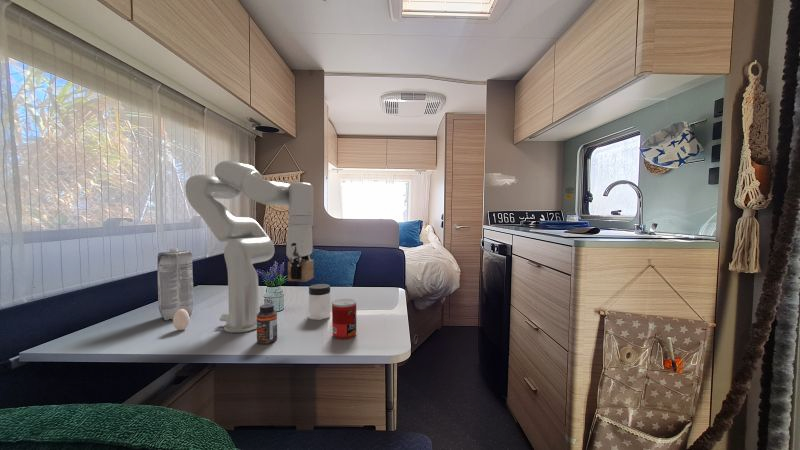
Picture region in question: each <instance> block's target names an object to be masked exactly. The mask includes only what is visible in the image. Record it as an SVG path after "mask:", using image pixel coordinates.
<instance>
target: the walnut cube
mask: <svg viewBox="0 0 800 450" xmlns="http://www.w3.org/2000/svg"><path fill="white" fill-rule="evenodd" d="M296 260H297V262H298V259H296ZM314 263H315V260H314V259H311V260H303V259H301V264H300V266H302V278H301V279H291V266H290V261H287V281H288V282H304V283H305V282H308V281H310V280H312V279H314V277H315V276H314V274H315V271H314V269H315V266H314V265H315V264H314Z"/></svg>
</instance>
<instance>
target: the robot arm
mask: <svg viewBox="0 0 800 450" xmlns="http://www.w3.org/2000/svg"><path fill="white" fill-rule="evenodd" d="M213 172H214V175H212V174H211V175H210V174H196V175H192V176H190V177H189V178H188V179H187V180H186V182H185V186H184V187H185V189H184V190H185V196H186V200H187V201H188V203H189V205H190V206H191V208H192V209H193V210H194V211H195V212H196V213H197V214H198V215H199V216H200V217H201V218H202V220H203V221H204V223H205V224H206V225H207V227H208V228H209V229H210V231H211V233H212V234H213V235H214V237H215V238H216V239H217V240H218V241H219V242H221V243H227V244H226V245H225V246H224V248H223V256H224V261H225V264H226V271H227V286H228V290H227V293H228V296H227V297H228V313H222V314H221V316H220V318H219V321H220V322H225V325H223V326H224V327H223V330H224V332H226V333H233V334H234V333H235V334H237V333H238V334H239V333H246V332H251V331H255V330H257V314H258V313H259V312H260V303H259V300H260V298H259V296H260V295H259V274H258V272H257V270H256V268H255V267H254V264H257V263H258V264H259V263H264V262H267V261H269V260H271V259H272V258H273V257H274V254H275V245H274V242H273V241H272V239H271V238H270V237H269V235H268V234H267V233H266V231H265V230H264V228H263V227H262V226H261V225H260V224H259V222H257V220H255V219H254V218H251V217H248V216H234V215H233V214H232V213H231V212H230V211H229V210H228V208H227V207H226V206H225V205H224V204H223V203H222V202H220V201H218V200H217V199H221V200H230V199H235V198H237V197H238V196H240V195H241V194H243V195H244V196H245V198H246V197H247V199H250V200H251V201H254V202H257V203H259V204H262V205H267V206H281V207H282V206H284V207H288V229H287V234H286V235H287V236H286V247H285V248H286V253H285V254H286V257H287V259H288V260H289V262H290V266H291V279H301V278H302V266H300V264H301V259H303V260H312V259H311V258H312V253H313V251H314V250H313V248H314V245H313V241H314V240H313V238H314V237H313V228H312V226H314V186H313V184H311V183H309V182H299V181H298V182H296V181H295V182H291V183H286V182H280V181H272V180H267V179H264V178H263V175H262V174H261V173H260V172H259V171H258V170H257V169H256V168H255V167H254V166H253V165H251V164H248V163H244V162H238V161H237V162H236V161H232V160H224V161H223V160H222V161H221V162H218V163H217V164H216V165H215V167H214V171H213ZM296 259H298V262H297V260H296Z"/></svg>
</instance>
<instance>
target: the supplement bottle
mask: <svg viewBox="0 0 800 450" xmlns="http://www.w3.org/2000/svg"><path fill="white" fill-rule="evenodd" d="M274 307H275V306H274V304H273V303H265V304H261V305H259V313H258V314H257V329H256V342H257V343H258V344H260V345H268V344H272V343H274V342H276V341H277V339H278V312H277V311H276V310H275V308H274Z"/></svg>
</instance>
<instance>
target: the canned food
mask: <svg viewBox="0 0 800 450" xmlns="http://www.w3.org/2000/svg"><path fill="white" fill-rule="evenodd" d="M331 318H332V319H331V321H332V322H331V324H332V336H333V337H334V338H336V339H337V340H347V339H351V338H353V337H355V336H356V334H357V301H356V300H354V299H351V298H340V299H335V300H334V301H332V303H331Z"/></svg>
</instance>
